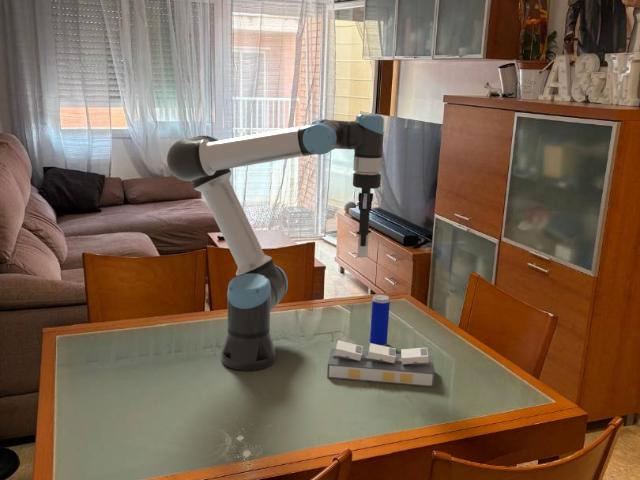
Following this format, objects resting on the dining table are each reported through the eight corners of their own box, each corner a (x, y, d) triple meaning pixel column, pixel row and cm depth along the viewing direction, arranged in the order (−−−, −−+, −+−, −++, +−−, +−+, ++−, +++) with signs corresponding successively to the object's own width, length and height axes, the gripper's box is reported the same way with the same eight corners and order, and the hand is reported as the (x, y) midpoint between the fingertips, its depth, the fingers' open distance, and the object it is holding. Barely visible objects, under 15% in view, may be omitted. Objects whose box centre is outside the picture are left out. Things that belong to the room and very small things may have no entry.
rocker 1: (334, 356, 165) (336, 348, 164) (336, 347, 170) (338, 339, 169) (359, 362, 164) (361, 354, 164) (360, 353, 170) (362, 345, 169)
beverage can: (386, 341, 189) (389, 294, 185) (386, 347, 184) (390, 300, 180) (369, 339, 189) (372, 293, 186) (369, 346, 185) (372, 299, 181)
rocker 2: (367, 359, 164) (369, 351, 163) (368, 350, 169) (370, 342, 169) (393, 365, 163) (395, 356, 163) (393, 356, 169) (395, 348, 168)
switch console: (326, 378, 164) (327, 362, 162) (330, 361, 174) (331, 346, 173) (433, 387, 161) (435, 371, 160) (431, 369, 171) (432, 354, 170)
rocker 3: (402, 366, 163) (401, 357, 163) (401, 357, 168) (401, 348, 168) (428, 364, 162) (428, 355, 162) (427, 355, 168) (426, 346, 167)
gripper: (380, 176, 160) (375, 263, 166) (381, 170, 173) (376, 251, 178) (351, 175, 161) (347, 261, 167) (354, 168, 173) (350, 249, 179)
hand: (362, 256), depth 172 cm, fingers closed
